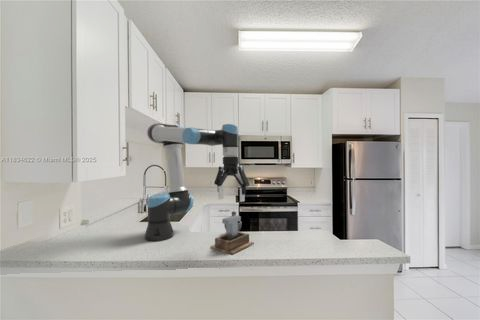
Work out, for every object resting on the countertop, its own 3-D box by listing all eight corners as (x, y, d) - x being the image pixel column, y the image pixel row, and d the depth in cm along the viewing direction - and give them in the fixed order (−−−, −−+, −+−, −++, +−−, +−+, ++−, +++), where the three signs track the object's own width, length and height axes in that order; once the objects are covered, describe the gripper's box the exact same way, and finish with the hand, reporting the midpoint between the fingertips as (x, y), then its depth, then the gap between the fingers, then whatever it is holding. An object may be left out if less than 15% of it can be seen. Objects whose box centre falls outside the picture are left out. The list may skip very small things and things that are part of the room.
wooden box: (210, 248, 114) (210, 237, 114) (232, 239, 127) (232, 229, 127) (233, 254, 106) (232, 243, 106) (253, 244, 118) (253, 234, 118)
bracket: (223, 246, 114) (222, 218, 114) (235, 241, 121) (234, 215, 121) (229, 248, 112) (228, 220, 112) (241, 242, 119) (240, 216, 119)
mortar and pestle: (241, 237, 130) (240, 215, 130) (223, 237, 130) (223, 215, 130) (242, 231, 141) (242, 210, 141) (226, 231, 142) (226, 210, 142)
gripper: (206, 156, 121) (207, 198, 121) (246, 155, 106) (247, 203, 106) (217, 156, 127) (217, 197, 127) (256, 155, 112) (257, 201, 112)
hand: (231, 200), depth 116 cm, fingers open, 13 cm apart
